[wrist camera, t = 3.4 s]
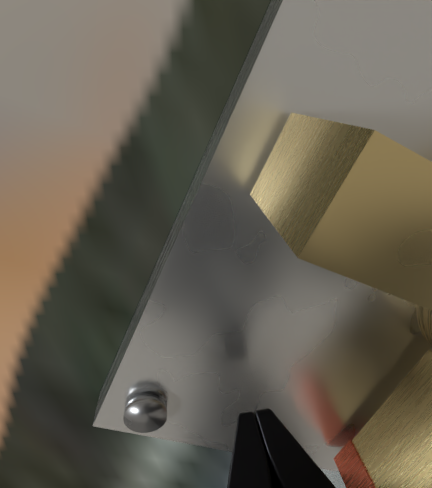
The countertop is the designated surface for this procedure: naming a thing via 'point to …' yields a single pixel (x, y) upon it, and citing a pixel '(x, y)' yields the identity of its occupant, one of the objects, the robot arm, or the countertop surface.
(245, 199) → the flange plate
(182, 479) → the countertop surface
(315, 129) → the brass cross latch
